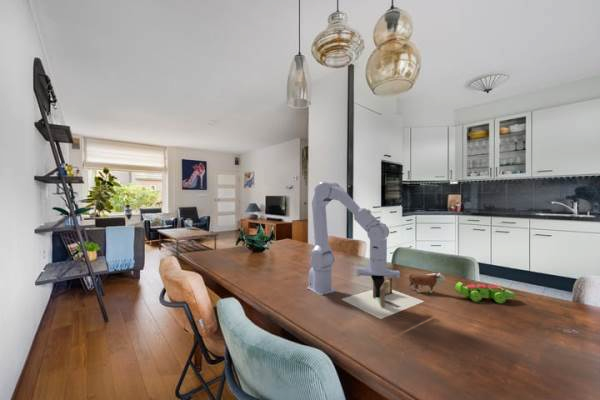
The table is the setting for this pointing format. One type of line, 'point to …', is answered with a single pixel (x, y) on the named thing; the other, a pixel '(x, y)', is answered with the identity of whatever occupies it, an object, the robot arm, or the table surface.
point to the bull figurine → (425, 280)
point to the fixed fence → (385, 286)
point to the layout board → (392, 303)
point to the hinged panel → (381, 298)
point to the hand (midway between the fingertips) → (377, 296)
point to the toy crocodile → (484, 292)
